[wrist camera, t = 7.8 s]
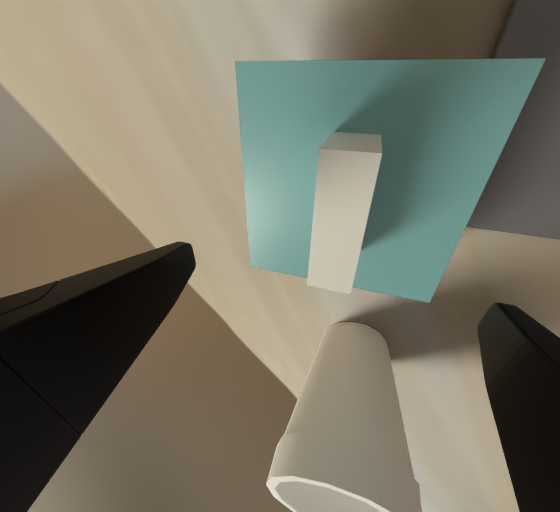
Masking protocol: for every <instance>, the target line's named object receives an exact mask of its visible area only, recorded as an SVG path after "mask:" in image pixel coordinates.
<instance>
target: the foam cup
mask: <svg viewBox="0 0 560 512" xmlns="http://www.w3.org/2000/svg"><path fill="white" fill-rule="evenodd" d="M266 485H267V487H268V488H269V490H270V491H271V493H272V495H273V496H274V497H275V498H276V499H277V500H279V501H280V502H281V503H283V504H284V505H285V506H286V507H288V508H289V509H290V510H292V511H293V512H422V510H421V500H420V490H419V483H418V482H417V481H416V480H415V479H414V474H413V469H412V464H411V459H410V455H409V450H408V445H407V440H406V435H405V430H404V425H403V420H402V415H401V410H400V405H399V400H398V395H397V390H396V385H395V380H394V375H393V370H392V365H391V360H390V355H389V350H388V347H387V342H386V341H385V339H384V338H383V337H382V335H381V334H380V333H379V332H378V331H376V330H374V329H373V328H371V327H369V326H367V325H364V324H360V323H355V322H342V323H336V324H334V325H332V326H331V327H329V328H327V329H326V331H325V333H324V335H323V338H322V340H321V342H320V345H319V347H318V350H317V352H316V355H315V357H314V360H313V363H312V365H311V368H310V370H309V373H308V375H307V378H306V380H305V383H304V385H303V388H302V391H301V393H300V396H299V398H298V401H297V403H296V406H295V409H294V411H293V414H292V416H291V419H290V421H289V424H288V426H287V429H286V431H285V434H284V435H283V436H282V438H281V439H280V441H279V443H278V445H277V448H276V451H275V455H274V459H273V462H272V466H271V469H270V473H269V476H268V480H267V484H266Z"/></svg>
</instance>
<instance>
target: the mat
mask: <svg viewBox="0 0 560 512" xmlns="http://www.w3.org/2000/svg"><path fill="white" fill-rule="evenodd" d="M532 58H546V59H545V61H544V64H543V66H542V68H541V70H540V72H539V74H538V76H537V78H536V80H535V82H534V85H533V87H532V89H531V91H530V93H529V95H528V97H527V99H526V101H525V103H524V106H523V108H522V110H521V112H520V114H519V116H518V118H517V120H516V122H515V124H514V127H513V129H512V131H511V133H510V135H509V137H508V139H507V141H506V143H505V145H504V148H503V150H502V152H501V154H500V156H499V158H498V160H497V162H496V164H495V167H494V169H493V171H492V173H491V175H490V177H489V179H488V181H487V183H486V185H485V188H484V190H483V192H482V194H481V196H480V198H479V200H478V202H477V204H476V206H475V209H474V211H473V213H472V215H471V217H470V219H469V221H468V223H467V225H466V227H472V228H479V229H487V230H494V231H502V232H509V233H516V234H524V235H531V236H538V237H546V238H553V239H560V0H514V2H513V5H512V7H511V10H510V13H509V15H508V18H507V20H506V23H505V26H504V28H503V31H502V33H501V36H500V39H499V41H498V44H497V46H496V49H495V52H494V54H493V57H492V59H532Z"/></svg>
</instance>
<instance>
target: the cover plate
mask: <svg viewBox="0 0 560 512" xmlns="http://www.w3.org/2000/svg"><path fill="white" fill-rule="evenodd" d="M545 59H546V58H532V59H423V60H314V61H235V67H236V80H237V94H238V107H239V121H240V134H241V148H242V161H243V175H244V188H245V202H246V215H247V229H248V242H249V256H250V267H255V268H260V269H264V270H269V271H274V272H279V273H284V274H289V275H294V276H299V277H304V278H307V285H309V286H314V287H318V288H323V289H328V290H333V291H337V292H342V293H347V294H351V291H352V287H353V288H358V289H363V290H368V291H373V292H378V293H383V294H388V295H393V296H398V297H402V298H407V299H412V300H417V301H422V302H427V303H430V301H431V299H432V297H433V295H434V293H435V290H436V288H437V286H438V284H439V282H440V280H441V278H442V276H443V274H444V272H445V269H446V267H447V265H448V263H449V261H450V259H451V257H452V255H453V253H454V251H455V248H456V246H457V244H458V242H459V240H460V238H461V236H462V234H463V232H464V230H465V227H466V225H467V223H468V221H469V219H470V217H471V215H472V213H473V211H474V209H475V206H476V204H477V202H478V200H479V198H480V196H481V194H482V192H483V190H484V188H485V185H486V183H487V181H488V179H489V177H490V175H491V173H492V171H493V169H494V167H495V164H496V162H497V160H498V158H499V156H500V154H501V152H502V150H503V148H504V145H505V143H506V141H507V139H508V137H509V135H510V133H511V131H512V129H513V127H514V124H515V122H516V120H517V118H518V116H519V114H520V112H521V110H522V108H523V106H524V103H525V101H526V99H527V97H528V95H529V93H530V91H531V89H532V87H533V85H534V82H535V80H536V78H537V76H538V74H539V72H540V70H541V68H542V66H543V64H544V61H545Z"/></svg>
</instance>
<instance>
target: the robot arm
mask: <svg viewBox="0 0 560 512" xmlns="http://www.w3.org/2000/svg"><path fill="white" fill-rule="evenodd" d="M195 266H196V262H195V257H194V253H193V248H192V246H191V244H189V243H185V242H175V243H172V244H169V245H166V246H163V247H160V248H157V249H154V250H151V251H148V252H145V253H141V254H138V255H136V256H132V257H129V258H126V259H123V260H120V261H117V262H114V263H111V264H107V265H104V266H101V267H98V268H95V269H92V270H89V271H86V272H83V273H80V274H77V275H73V276H70V277H67V278H64V279H61V280H60V281H55V282H52V283H49V284H46V285H42V286H39V287H36V288H33V289H29V290H26V291H24V292H20V293H17V294H13V295H10V296H6V297H3V298H0V512H27V511H28V510H29V508H30V507H31V506H32V504H33V503H34V501H35V500H36V499H37V497H38V496H39V494H40V493H41V492H42V490H43V489H44V487H45V486H46V484H47V483H48V482H49V480H50V479H51V478H52V476H53V475H54V473H55V472H56V470H57V469H58V468H59V466H60V465H61V464H62V462H63V461H64V459H65V458H66V457H67V455H68V454H69V452H70V451H71V449H72V448H73V446H74V445H75V444H76V442H77V441H78V440H79V438H80V437H81V434H83V432H84V431H85V430H86V428H87V427H88V425H89V424H90V423H91V421H92V420H93V418H94V417H95V416H96V414H97V413H98V411H99V410H100V408H101V407H102V406H103V404H104V403H105V401H106V400H107V398H108V397H109V396H110V394H111V393H112V392H113V390H114V389H115V387H116V386H117V385H118V383H119V382H120V381H121V379H122V378H123V376H124V375H125V373H126V372H127V370H128V369H129V368H130V366H131V365H132V364H133V362H134V361H135V359H136V358H137V357H138V355H139V354H140V352H141V351H142V350H143V348H144V347H145V345H146V344H147V343H148V341H149V340H150V338H151V337H152V336H153V334H154V333H155V331H156V330H157V329H158V327H159V326H160V324H161V323H162V322H163V320H164V319H165V317H166V316H167V314H168V313H169V312H170V310H171V309H172V307H173V306H174V304H175V303H176V301H177V300H178V298H179V296H180V294H181V293H182V291H183V289H184V287H185V285H186V284H187V282H188V280H189V278H190V277H191V275H192V273H193V271H194V269H195ZM478 337H479V344H480V351H481V358H482V365H483V372H484V378H485V384H486V389H487V393H488V397H489V400H490V404H491V408H492V411H493V415H494V419H495V422H496V426H497V430H498V433H499V437H500V441H501V445H502V448H503V452H504V456H505V459H506V463H507V467H508V470H509V474H510V478H511V481H512V485H513V489H514V492H515V496H516V500H517V503H518V507H519V511H520V512H560V338H559V337H558V336H556V335H555V334H554V333H552V332H551V331H549V330H548V329H547V328H545V327H544V326H543V325H541V324H540V323H538V322H537V321H536V320H534V319H533V318H532V317H530V316H529V315H527V314H526V313H525V312H523V311H522V310H521V309H519V308H518V307H516V306H514V305H510V304H504V303H499V302H497V303H494V304H492V305H491V306H490V308H489V309H488V311H487V312H486V314H485V315H484V317H483V318H482V320H481V321H480V323H479V325H478Z"/></svg>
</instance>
